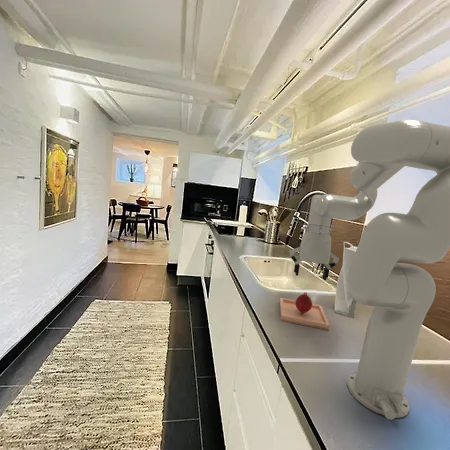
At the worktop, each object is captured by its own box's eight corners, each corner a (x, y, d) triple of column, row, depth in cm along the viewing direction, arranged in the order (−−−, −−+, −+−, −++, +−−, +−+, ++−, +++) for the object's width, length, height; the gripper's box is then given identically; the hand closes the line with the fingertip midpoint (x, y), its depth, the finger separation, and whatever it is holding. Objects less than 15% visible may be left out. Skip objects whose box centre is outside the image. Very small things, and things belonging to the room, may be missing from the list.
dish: (328, 330, 90) (329, 325, 90) (280, 320, 93) (281, 315, 93) (320, 310, 106) (321, 305, 106) (279, 302, 108) (280, 297, 108)
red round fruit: (311, 318, 96) (314, 296, 95) (294, 315, 97) (298, 293, 96) (309, 311, 102) (312, 291, 101) (293, 308, 102) (296, 288, 102)
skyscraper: (330, 311, 106) (344, 243, 102) (330, 304, 114) (343, 240, 110) (353, 317, 103) (368, 247, 100) (351, 309, 111) (365, 244, 107)
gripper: (294, 227, 93) (286, 275, 94) (346, 235, 90) (337, 284, 92) (292, 225, 100) (285, 270, 102) (340, 232, 97) (332, 278, 99)
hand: (310, 276), depth 97 cm, fingers open, 9 cm apart
